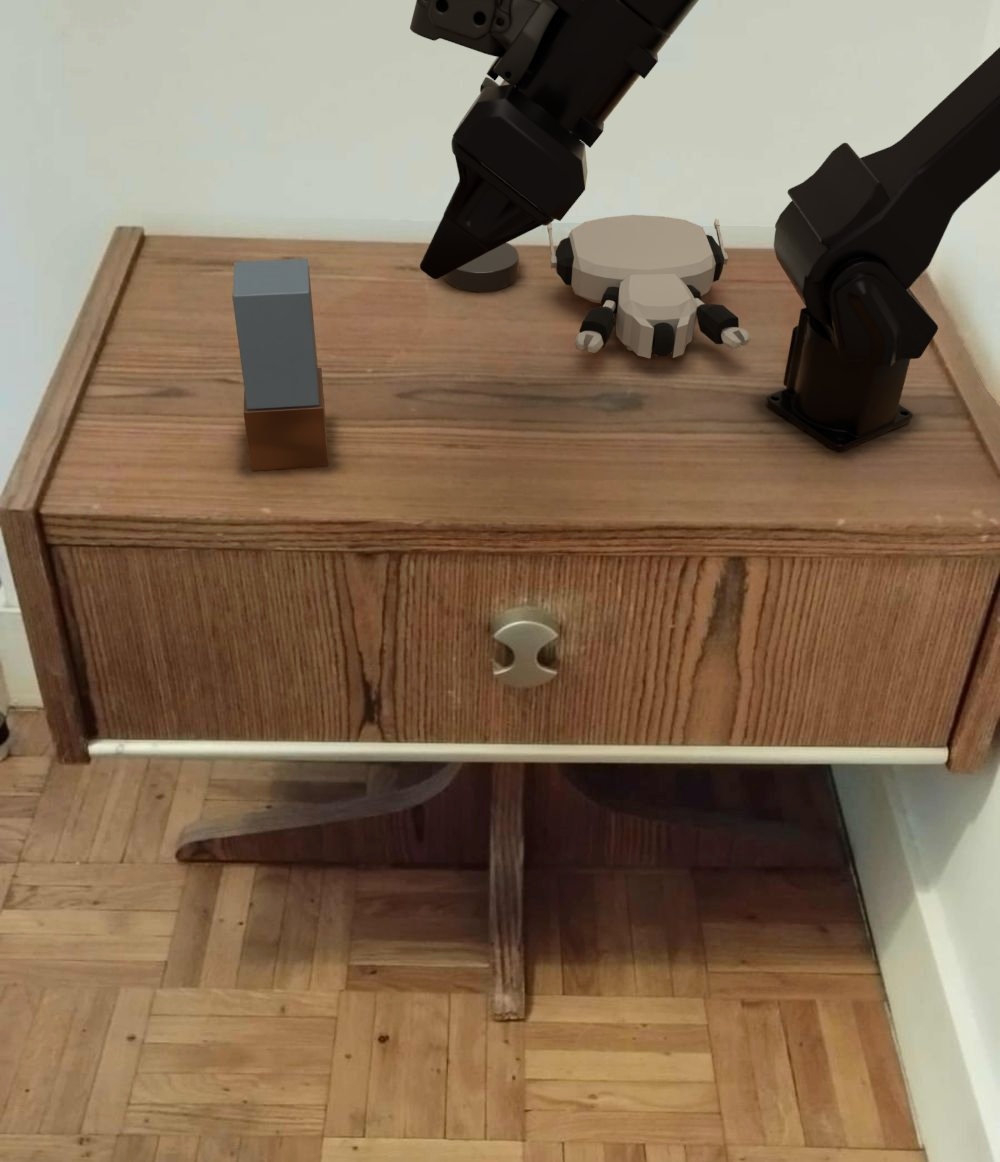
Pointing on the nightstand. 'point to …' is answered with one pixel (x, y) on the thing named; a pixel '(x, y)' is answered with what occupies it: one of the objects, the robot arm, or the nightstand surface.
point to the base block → (287, 435)
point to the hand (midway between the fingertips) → (439, 246)
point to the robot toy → (646, 283)
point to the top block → (276, 333)
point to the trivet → (487, 271)
